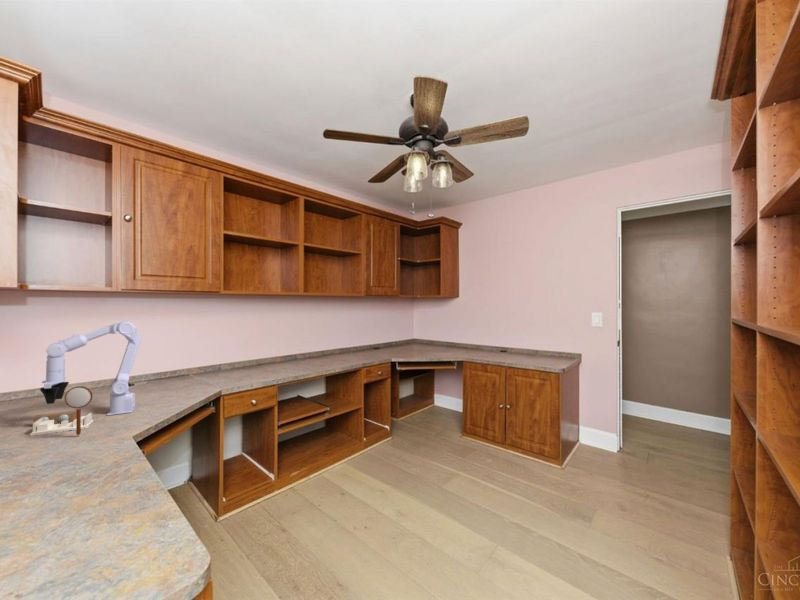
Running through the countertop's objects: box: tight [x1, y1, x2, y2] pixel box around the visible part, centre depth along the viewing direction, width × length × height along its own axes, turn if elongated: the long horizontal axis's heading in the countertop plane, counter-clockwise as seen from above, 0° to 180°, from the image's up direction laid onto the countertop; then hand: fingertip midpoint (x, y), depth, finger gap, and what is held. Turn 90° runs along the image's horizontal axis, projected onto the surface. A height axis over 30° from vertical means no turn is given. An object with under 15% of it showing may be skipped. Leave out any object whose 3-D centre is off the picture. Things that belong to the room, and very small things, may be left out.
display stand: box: [29, 412, 95, 437], centre depth 142 cm, size 17×9×4 cm, turn 117°
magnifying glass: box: [64, 385, 93, 437], centre depth 134 cm, size 9×2×20 cm, turn 110°
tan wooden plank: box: [32, 409, 77, 424], centre depth 148 cm, size 13×4×4 cm, turn 118°
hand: (54, 401), depth 148 cm, fingers open, 7 cm apart
